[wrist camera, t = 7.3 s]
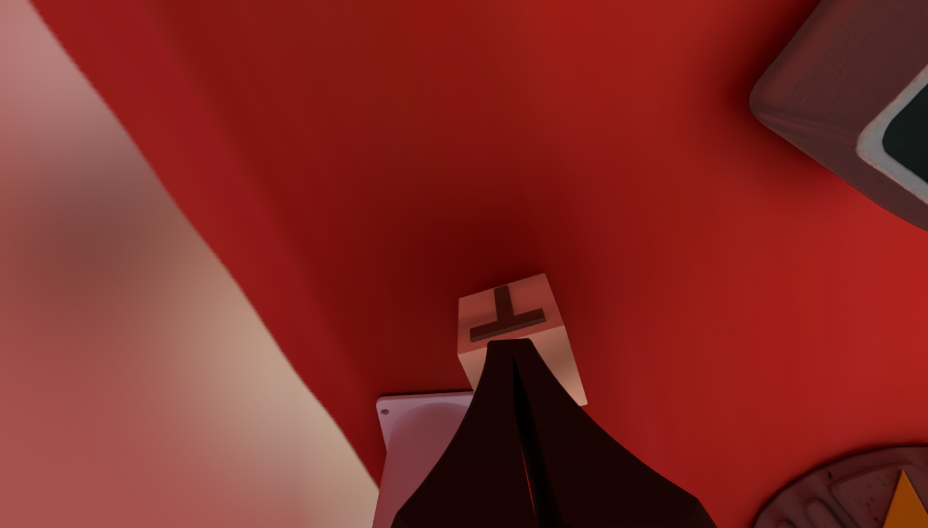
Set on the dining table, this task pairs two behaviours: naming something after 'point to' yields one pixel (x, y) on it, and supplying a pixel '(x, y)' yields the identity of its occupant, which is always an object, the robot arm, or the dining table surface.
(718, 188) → the dining table surface
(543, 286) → the letter cube
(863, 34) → the flower pot
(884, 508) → the decorative lamp
